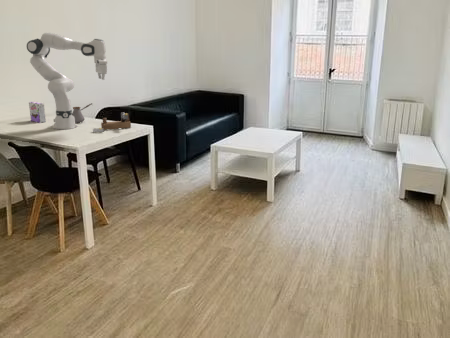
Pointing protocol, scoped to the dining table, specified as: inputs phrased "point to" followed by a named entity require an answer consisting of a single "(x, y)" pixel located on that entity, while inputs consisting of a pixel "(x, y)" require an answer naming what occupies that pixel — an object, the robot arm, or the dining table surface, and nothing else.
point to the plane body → (115, 124)
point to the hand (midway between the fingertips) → (101, 79)
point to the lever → (123, 116)
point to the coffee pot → (78, 114)
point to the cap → (98, 130)
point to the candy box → (37, 112)
